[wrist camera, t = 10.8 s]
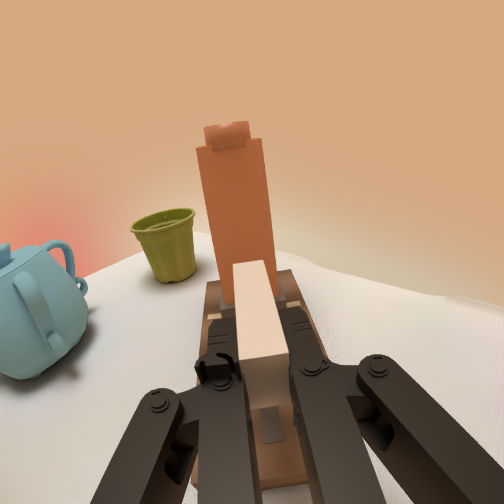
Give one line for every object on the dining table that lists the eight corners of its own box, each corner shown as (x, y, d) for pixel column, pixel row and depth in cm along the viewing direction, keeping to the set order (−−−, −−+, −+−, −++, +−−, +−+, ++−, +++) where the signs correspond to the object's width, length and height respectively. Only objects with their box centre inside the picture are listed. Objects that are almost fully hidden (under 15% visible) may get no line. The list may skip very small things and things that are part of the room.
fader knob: (222, 295, 29) (191, 131, 23) (279, 287, 30) (260, 120, 23) (222, 318, 26) (185, 130, 19) (286, 308, 26) (266, 118, 19)
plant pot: (167, 297, 35) (149, 234, 32) (135, 279, 41) (119, 226, 38) (219, 267, 41) (208, 209, 38) (182, 255, 47) (170, 206, 44)
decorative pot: (80, 393, 21) (11, 263, 15) (-17, 392, 18) (-75, 292, 12) (107, 304, 35) (76, 210, 30) (24, 319, 33) (-9, 239, 27)
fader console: (210, 296, 34) (206, 281, 34) (291, 283, 35) (290, 268, 34) (200, 492, 12) (190, 483, 12) (361, 468, 13) (367, 456, 12)
